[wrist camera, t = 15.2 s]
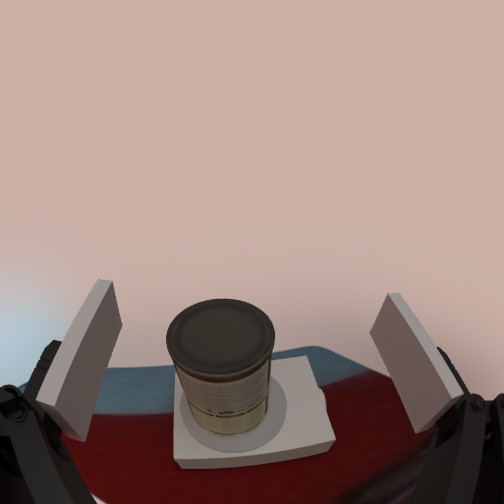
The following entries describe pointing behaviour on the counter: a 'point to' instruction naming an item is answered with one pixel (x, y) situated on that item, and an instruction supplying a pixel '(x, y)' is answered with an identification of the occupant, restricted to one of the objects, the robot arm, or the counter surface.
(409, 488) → the counter surface
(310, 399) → the kitchen scale
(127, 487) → the counter surface
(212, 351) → the coffee can
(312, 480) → the counter surface
